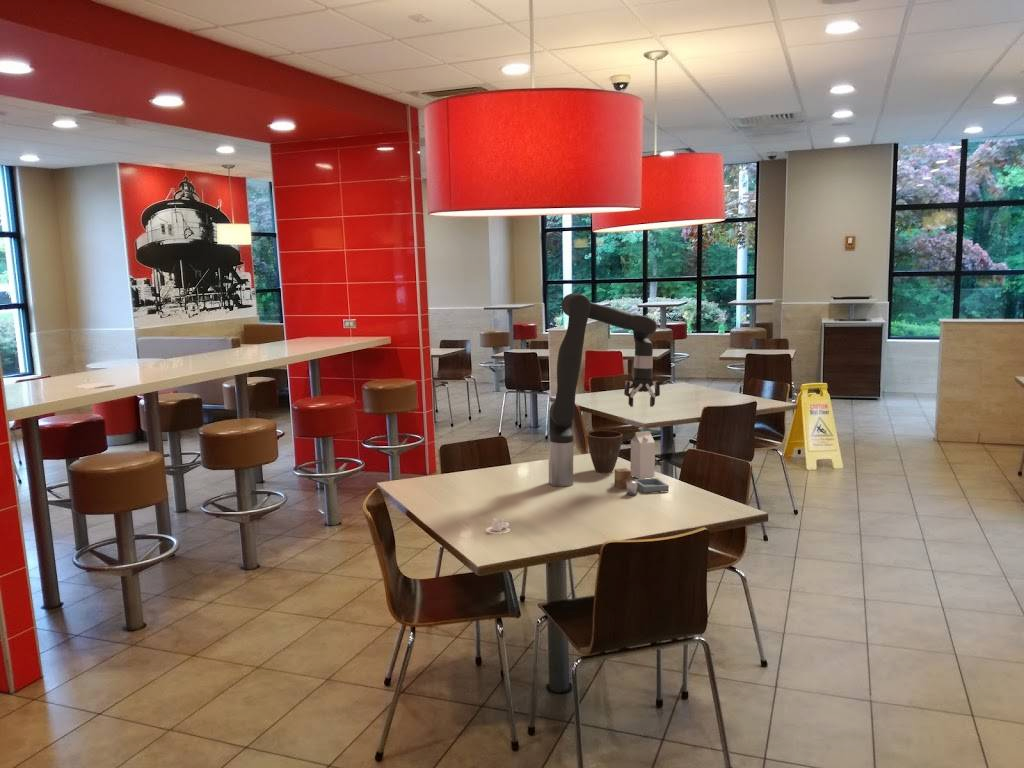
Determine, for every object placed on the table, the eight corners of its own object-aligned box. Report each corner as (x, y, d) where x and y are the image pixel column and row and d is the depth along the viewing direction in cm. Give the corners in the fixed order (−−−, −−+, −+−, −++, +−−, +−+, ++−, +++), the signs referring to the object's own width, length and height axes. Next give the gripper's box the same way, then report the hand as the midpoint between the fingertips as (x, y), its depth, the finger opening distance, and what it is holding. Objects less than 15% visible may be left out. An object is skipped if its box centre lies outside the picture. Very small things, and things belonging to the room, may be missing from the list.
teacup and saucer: (505, 526, 273) (505, 514, 272) (516, 532, 266) (516, 520, 265) (481, 529, 269) (481, 517, 268) (492, 536, 262) (492, 524, 261)
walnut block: (618, 489, 318) (618, 471, 317) (614, 486, 323) (614, 468, 322) (630, 488, 319) (631, 471, 318) (626, 485, 324) (626, 468, 323)
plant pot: (619, 476, 340) (620, 437, 338) (584, 474, 343) (584, 436, 341) (623, 468, 354) (624, 431, 352) (589, 466, 358) (589, 430, 356)
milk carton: (630, 476, 339) (630, 431, 337) (644, 474, 342) (645, 429, 340) (639, 480, 333) (640, 434, 330) (654, 478, 336) (655, 432, 333)
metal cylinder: (628, 496, 308) (628, 483, 308) (625, 493, 312) (625, 480, 311) (638, 495, 309) (638, 482, 308) (635, 493, 313) (635, 480, 312)
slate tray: (643, 493, 312) (643, 486, 312) (633, 485, 324) (633, 479, 324) (668, 491, 314) (668, 485, 314) (657, 484, 326) (657, 478, 326)
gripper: (629, 367, 327) (627, 408, 329) (663, 367, 329) (661, 407, 331) (623, 365, 334) (621, 405, 336) (656, 365, 337) (655, 405, 339)
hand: (641, 406), depth 334 cm, fingers open, 8 cm apart
